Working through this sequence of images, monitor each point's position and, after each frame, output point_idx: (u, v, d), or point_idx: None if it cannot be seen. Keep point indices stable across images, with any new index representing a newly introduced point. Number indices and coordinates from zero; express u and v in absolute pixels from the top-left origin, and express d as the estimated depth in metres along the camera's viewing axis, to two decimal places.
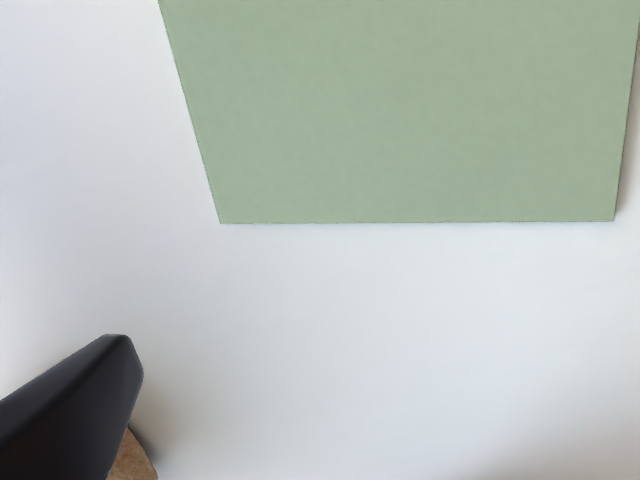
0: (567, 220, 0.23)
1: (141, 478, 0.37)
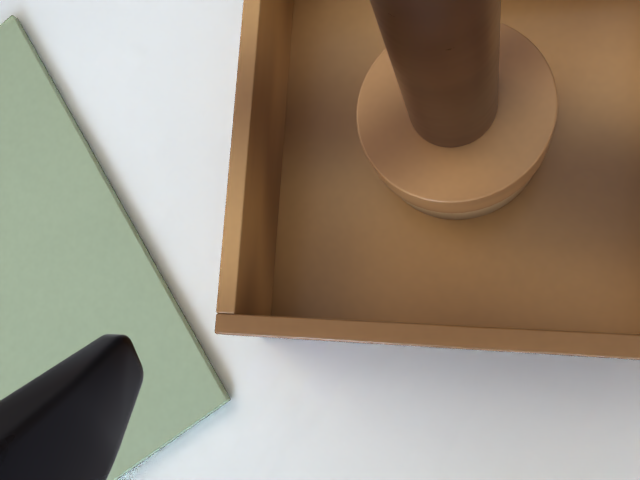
0: (193, 421, 0.24)
1: None
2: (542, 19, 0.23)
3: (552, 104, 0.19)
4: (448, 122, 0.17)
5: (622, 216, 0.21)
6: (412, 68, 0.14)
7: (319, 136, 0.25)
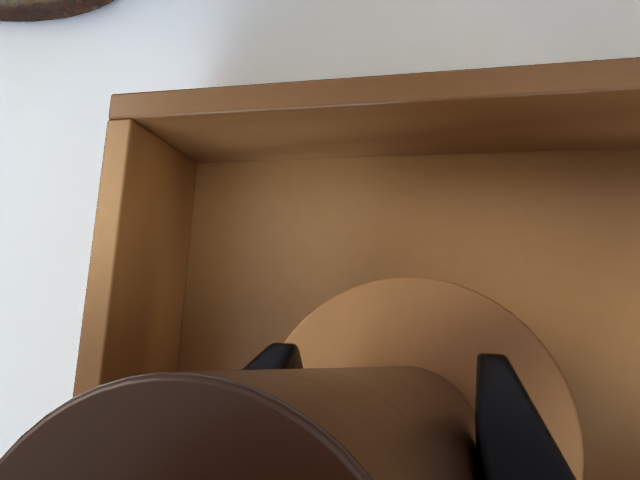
0: None
1: None
2: (551, 235, 0.15)
3: (574, 459, 0.11)
4: None
5: None
6: None
7: None
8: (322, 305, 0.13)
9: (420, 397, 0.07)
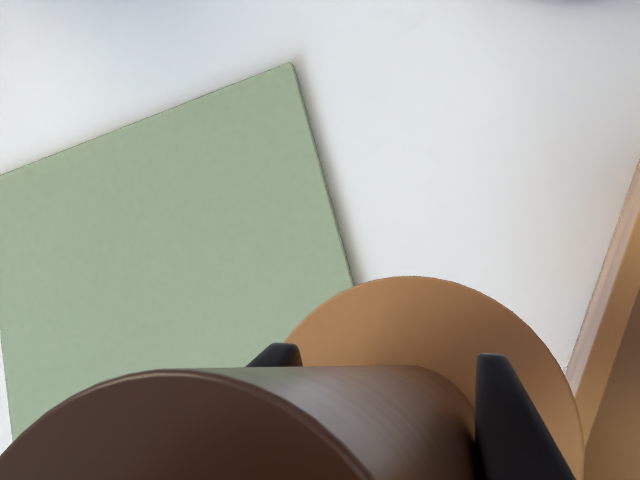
0: None
1: None
2: None
3: (575, 458, 0.11)
4: None
5: None
6: None
7: None
8: (323, 304, 0.13)
9: (420, 395, 0.07)
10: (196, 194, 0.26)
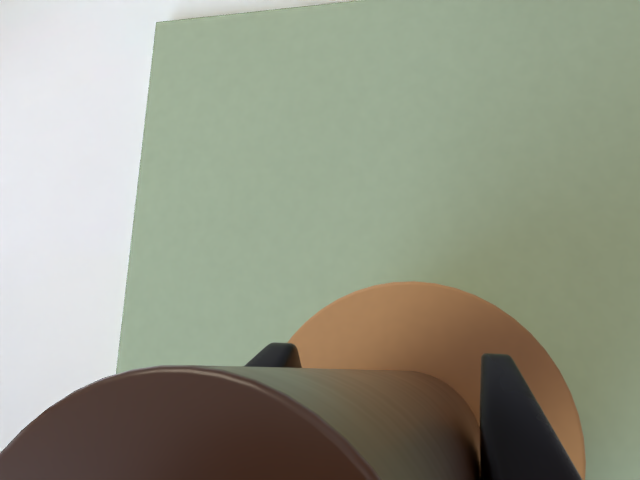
0: None
1: None
2: None
3: (576, 465, 0.11)
4: None
5: None
6: None
7: None
8: (323, 309, 0.13)
9: (422, 399, 0.07)
10: (491, 130, 0.16)
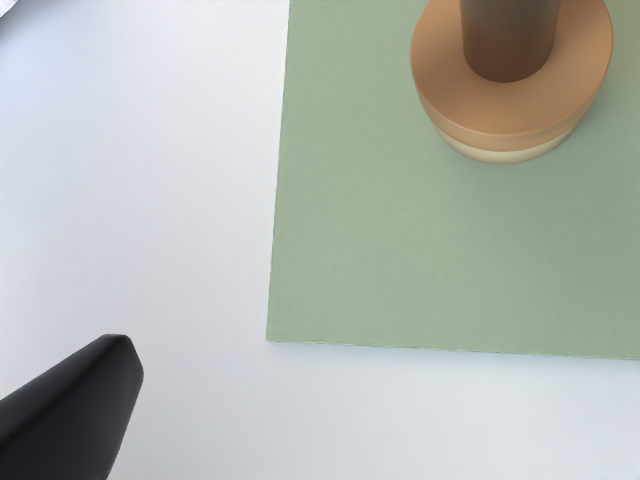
0: None
1: None
2: None
3: (608, 38, 0.19)
4: (510, 48, 0.17)
5: None
6: None
7: None
8: None
9: None
10: None
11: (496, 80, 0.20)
